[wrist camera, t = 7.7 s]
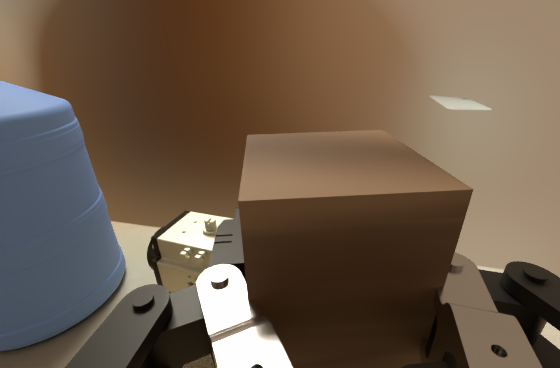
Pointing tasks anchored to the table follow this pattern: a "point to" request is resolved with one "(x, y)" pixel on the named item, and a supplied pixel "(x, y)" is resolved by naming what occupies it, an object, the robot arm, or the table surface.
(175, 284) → the pneumatic valve
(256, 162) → the brown wooden block
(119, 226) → the table surface
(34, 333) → the water jug
